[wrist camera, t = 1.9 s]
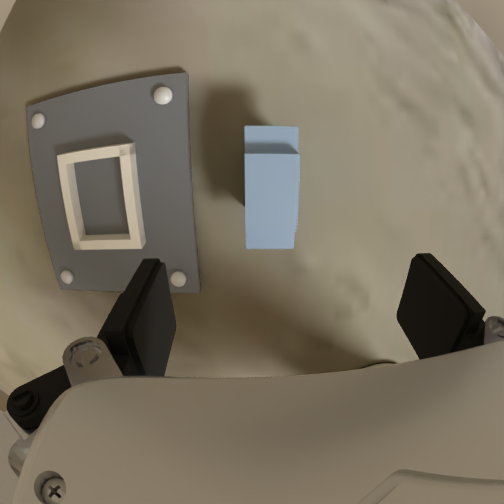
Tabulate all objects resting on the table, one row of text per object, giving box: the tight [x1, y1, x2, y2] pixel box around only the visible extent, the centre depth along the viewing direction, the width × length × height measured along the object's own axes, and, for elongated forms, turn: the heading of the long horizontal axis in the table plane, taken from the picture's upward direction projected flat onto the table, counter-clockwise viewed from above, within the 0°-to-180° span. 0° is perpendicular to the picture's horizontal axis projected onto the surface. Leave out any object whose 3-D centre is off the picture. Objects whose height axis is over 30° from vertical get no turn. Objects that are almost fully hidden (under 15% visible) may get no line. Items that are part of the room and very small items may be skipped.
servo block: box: [245, 126, 300, 249], centre depth 25 cm, size 4×10×6 cm, turn 0°
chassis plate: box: [26, 72, 201, 293], centre depth 27 cm, size 18×22×2 cm
